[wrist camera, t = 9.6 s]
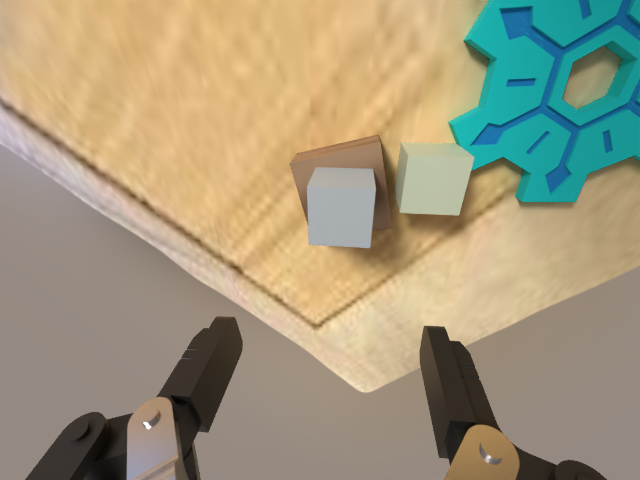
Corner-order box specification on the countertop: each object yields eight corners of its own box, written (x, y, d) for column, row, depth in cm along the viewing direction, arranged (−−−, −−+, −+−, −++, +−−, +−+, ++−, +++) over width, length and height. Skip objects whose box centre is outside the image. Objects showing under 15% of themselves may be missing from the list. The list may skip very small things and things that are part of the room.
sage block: (456, 143, 26) (400, 142, 27) (474, 157, 22) (408, 155, 23) (444, 194, 29) (394, 192, 29) (459, 215, 25) (399, 213, 25)
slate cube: (315, 167, 25) (307, 186, 21) (373, 168, 25) (375, 189, 20) (316, 218, 28) (308, 244, 23) (368, 220, 27) (370, 248, 23)
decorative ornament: (651, 195, 27) (841, -126, 17) (668, 202, 25) (885, -144, 15) (434, 194, 29) (483, -87, 19) (438, 201, 28) (493, -100, 18)
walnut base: (298, 152, 29) (289, 163, 25) (378, 134, 27) (380, 143, 24) (317, 222, 32) (312, 240, 29) (388, 210, 31) (392, 227, 27)
